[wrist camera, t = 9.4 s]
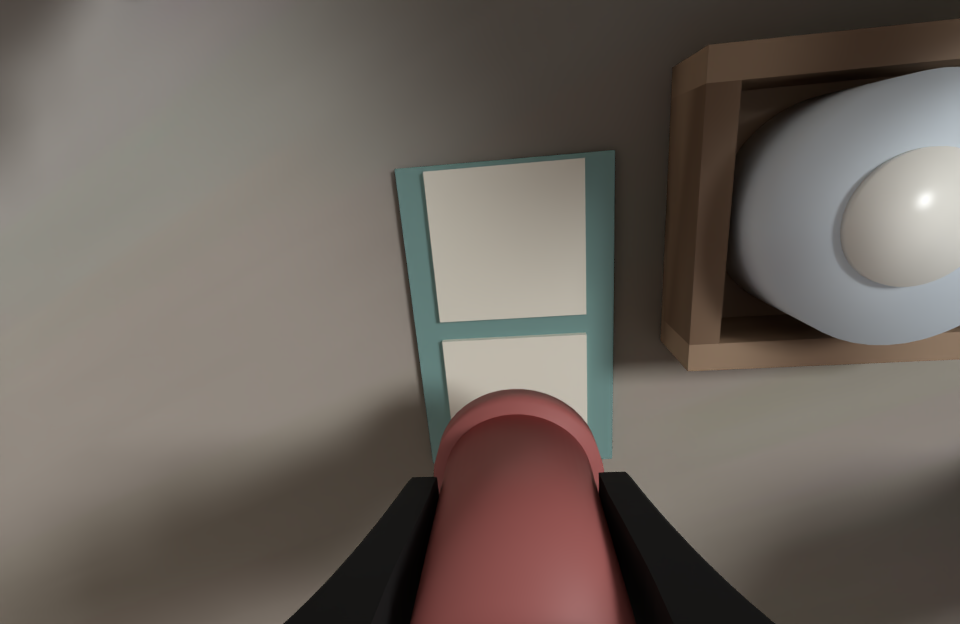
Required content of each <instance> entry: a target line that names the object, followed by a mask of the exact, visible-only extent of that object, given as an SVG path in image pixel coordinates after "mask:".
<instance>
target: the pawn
mask: <svg viewBox="0 0 960 624" xmlns="http://www.w3.org/2000/svg"><path fill="white" fill-rule="evenodd" d="M600 472H604V468H603V464H602V459H601V456H600V453H599V450H598V447H597V444H596V441H595V439H594V436H593V434H592V432H591V430H590V428H589V426H588V425H587V423H586V422H585V421H584V419H583V418H582V417H581V416H580V415H579V414H578V413H577V412H576V411H575V410H574V409H573V408H572V407H570V406H569V405H567V404H566V403H565V402H563V401H561V400H559V399H557V398H556V397H553V396H551V395H548V394H546V393H542V392H538V391H534V390H527V389H507V390H500V391H495V392H491V393H488V394H486V395H483V396H481V397H479V398H477V399H475V400H473V401H471V402H470V403H468V404H467V405H465V406H464V407H463V408H462V409H461V410H459V411H458V412H457V413H456V414H455V416H454V417H453V418H452V419H451V420H450V422H449V424H448V425H447V427H446V428H445V431H444V433H443V435H442V438H441V442H440V445H439V449H438V453H437V456H436V460H435V465H434V477H437V481H438V489H439V499H438V503H437V507H436V512H435V516H434V521H433V525H432V529H431V534H430V538H429V543H428V547H427V551H426V556H425V560H424V564H423V569H422V573H421V578H420V582H419V586H418V591H417V595H416V600H415V604H414V608H413V613H412V617H411V622H410V624H636V621H635V618H634V614H633V611H632V607H631V604H630V600H629V597H628V593H627V590H626V586H625V583H624V579H623V576H622V572H621V569H620V565H619V562H618V558H617V555H616V552H615V548H614V545H613V541H612V538H611V534H610V531H609V527H608V524H607V520H606V517H605V513H604V510H603V506H602V503H601V499H600V496H599V473H600Z"/></svg>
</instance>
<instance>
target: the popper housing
mask: <svg viewBox="0 0 960 624" xmlns="http://www.w3.org/2000/svg"><path fill="white" fill-rule="evenodd" d="M943 67H960V18H959V19H949V20H940V21H930V22H921V23H911V24H902V25H892V26H882V27H873V28H863V29H854V30H844V31H835V32H825V33H816V34H806V35H797V36H787V37H777V38H768V39H758V40H749V41H739V42H730V43H720V44H711V45H708V46H706V47H704V48H703V49H701V50H700V51H698V52H697V53H695V54H693V55H692V56H690V57H689V58H687V59H685V60H684V61H682V62H681V63H679V64H677V65H676V66H674V67H673V68H672V91H671V114H670V136H669V159H668V181H667V204H666V227H665V249H664V272H663V294H662V317H661V342H662V343H663V344H664V345H665V346H666V347H667V348H668V350H669V351H670V352H671V353H672V354H673V355H674V356H675V357H676V359H677V360H678V361H679V362H680V363H681V364H682V365H683V367H684V368H685V369H686V370H687V371H705V370H728V369H751V368H773V367H796V366H819V365H842V364H865V363H887V362H910V361H933V360H956V359H960V326H958V327H955V328H953V329H951V330H948V331H946V332H944V333H941V334H938V335H935V336H932V337H929V338H926V339H923V340H918V341H913V342H909V343H903V344H893V345H866V344H859V343H852V342H848V341H844V340H841V339H837V338H835V337H832V336H830V335H828V334H825V333H823V332H821V331H819V330H817V329H815V328H813V327H811V326H809V325H807V324H806V323H804V322H802V321H800V320H798V319H796V318H794V317H792V316H790V315H788V314H786V313H784V312H782V311H781V310H779V309H777V308H775V307H773V306H771V305H769V304H767V303H765V302H763V301H761V300H759V299H758V298H756V297H754V296H752V295H751V294H749V293H747V292H746V291H745V290H744V289H742V288H741V287H740V286H739V285H738V284H737V283H736V282H735V281H734V280H733V279H732V278H731V277H730V275H729V274H728V272H727V271H726V260H727V249H728V237H729V226H730V214H731V203H732V191H733V180H734V168H735V157H736V154H737V152H738V151H739V150H740V148H741V147H742V146H743V145H744V143H745V142H746V141H747V140H748V139H749V138H750V137H751V136H752V135H753V134H754V133H755V132H756V131H757V130H758V129H759V128H760V127H761V126H763V125H764V124H765V123H766V122H768V121H769V120H770V119H772V118H773V117H774V116H776V115H777V114H779V113H781V112H782V111H784V110H786V109H788V108H789V107H791V106H793V105H795V104H798V103H800V102H802V101H805V100H807V99H810V98H814V97H817V96H821V95H824V94H828V93H832V92H837V91H841V90H845V89H849V88H853V87H857V86H862V85H866V84H870V83H874V82H878V81H882V80H887V79H891V78H895V77H899V76H903V75H907V74H912V73H916V72H920V71H924V70H930V69H937V68H943Z"/></svg>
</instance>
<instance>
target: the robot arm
mask: <svg viewBox="0 0 960 624" xmlns="http://www.w3.org/2000/svg"><path fill="white" fill-rule="evenodd" d="M599 496H600V499H601V503H602V506H603V510H604V513H605V517H606V520H607V524H608V527H609V531H610V534H611V538H612V541H613V545H614V548H615V552H616V555H617V558H618V562H619V565H620V569H621V572H622V576H623V579H624V583H625V586H626V590H627V593H628V597H629V600H630V604H631V607H632V611H633V614H634V618H635V621H636V624H775V623H774V622H772V621H771V620H770V619H769V618H768V617H766V616H765V615H764V614H763V613H762V612H761V611H759V610H758V609H757V608H756V607H755V606H754V605H752V604H751V603H750V602H749V601H748V600H747V599H746V598H744V597H743V596H742V595H741V594H740V593H739V592H738V591H737V590H736V589H734V588H733V587H732V586H731V585H730V584H729V583H728V582H727V581H726V580H725V579H724V578H723V577H722V576H721V575H720V574H719V573H718V572H716V571H715V570H714V569H713V568H712V567H711V566H710V565H709V564H708V563H707V562H706V561H705V560H704V559H703V558H702V557H701V556H700V555H699V554H698V553H697V552H696V551H695V550H694V549H693V548H692V547H691V546H690V545H689V543H688V542H687V541H686V540H685V539H684V538H683V537H682V536H681V535H680V534H679V533H678V532H677V531H676V530H675V528H674V527H673V526H672V525H671V524H670V523H669V522H668V521H667V520H666V519H665V517H664V516H663V515H662V514H661V513H660V512H659V511H658V509H657V508H656V507H655V506H654V505H653V504H652V502H651V501H650V500H649V499H648V498H647V497H646V495H645V494H644V493H643V492H642V490H641V489H640V488H639V487H638V486H637V484H636V483H635V482H634V481H633V479H632V478H631V477H630V476H629V475H628V474H627V473H626V472H600V473H599ZM438 499H439V489H438V481H437V477H414V478H411V480H410V481H409V482H408V483H407V484H406V486H405V487H404V488H403V490H402V491H401V492H400V494H399V495H398V496H397V498H396V499H395V500H394V502H393V503H392V504H391V506H390V507H389V508H388V510H387V511H386V512H385V514H384V515H383V516H382V517H381V519H380V520H379V521H378V523H377V524H376V525H375V526H374V527H373V529H372V530H371V531H370V532H369V534H368V535H367V536H366V537H365V539H364V540H363V541H362V542H361V543H360V545H359V546H358V547H357V548H356V549H355V551H354V552H353V553H352V554H351V555H350V556H349V557H348V558H347V559H346V561H345V562H344V563H343V564H342V565H341V566H340V567H339V568H338V570H337V571H336V572H335V573H334V574H333V575H332V576H331V577H330V578H329V580H328V581H327V582H326V583H325V584H324V585H323V586H322V587H321V588H320V589H319V590H318V591H317V592H316V593H315V594H314V595H313V596H312V597H311V598H310V599H309V600H308V601H307V602H306V603H305V604H304V605H303V606H302V607H301V608H300V609H299V610H298V611H297V612H296V613H295V614H294V615H292V616H291V617H290V618H289V619H288V620H287V621H286V622H285V623H284V624H410V622H411V617H412V613H413V608H414V604H415V600H416V595H417V591H418V586H419V582H420V578H421V573H422V569H423V564H424V560H425V556H426V551H427V547H428V543H429V538H430V534H431V529H432V525H433V521H434V516H435V512H436V507H437V503H438Z"/></svg>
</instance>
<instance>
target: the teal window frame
mask: <svg viewBox="0 0 960 624" xmlns="http://www.w3.org/2000/svg"><path fill="white" fill-rule="evenodd" d="M395 176H396V184H397V192H398V199H399V207H400V214H401V222H402V230H403V237H404V245H405V252H406V260H407V268H408V275H409V283H410V290H411V298H412V306H413V313H414V321H415V328H416V336H417V344H418V351H419V359H420V366H421V374H422V382H423V389H424V397H425V404H426V412H427V419H428V427H429V435H430V442H431V450H432V457H433V464H434V463H435V460H436V456H437V453H438V449H439V445H440V442H441V438H442V435H443V433H444V431H445V428H446V427H447V425H448V424H449V422H450V420H451V419H452V418H453V417H454V416H455V414H456V413H457V412H458V411H459V410H461V409H462V408H463V407H464V406H465V405H467V404H468V403H470V402H471V401H473V400H475V399H477V398H479V397H481V396H483V395H486V394H488V393H491V392H495V391H500V390H507V389H527V390H534V391H538V392H542V393H546V394H548V395H551V396H553V397H556V398H557V399H559V400H561V401H563V402H565V403H566V404H567V405H569V406H570V407H572V408H573V409H574V410H575V411H576V412H577V413H578V414H579V415H580V416H581V417H582V418H583V419H584V421H585V422H586V423H587V425H588V426H589V428H590V430H591V432H592V434H593V436H594V439H595V441H596V444H597V447H598V450H599V453H600V456H601V459H612V403H613V303H614V204H615V150H609V151H597V152H586V153H574V154H563V155H551V156H539V157H528V158H516V159H505V160H493V161H482V162H470V163H459V164H447V165H435V166H424V167H412V168H401V169H395Z"/></svg>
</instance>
